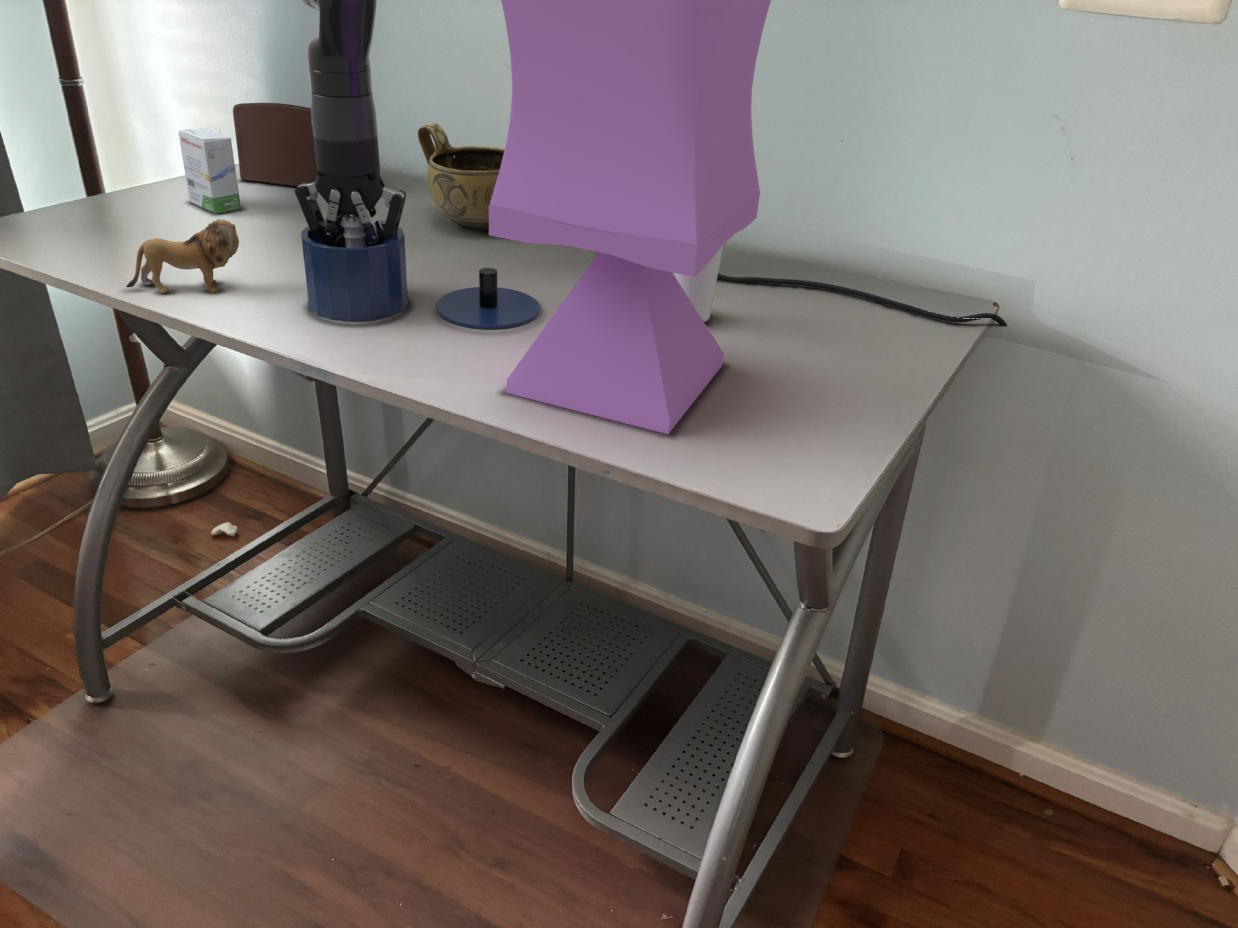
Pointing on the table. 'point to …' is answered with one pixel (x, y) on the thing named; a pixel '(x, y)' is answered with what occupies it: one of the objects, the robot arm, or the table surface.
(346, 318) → the pot
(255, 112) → the letter holder
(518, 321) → the lid
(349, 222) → the rook chess piece
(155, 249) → the lion figurine
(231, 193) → the ink box
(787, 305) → the table surface
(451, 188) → the ceramic bowl
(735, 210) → the purple table lamp
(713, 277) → the drinking glass
